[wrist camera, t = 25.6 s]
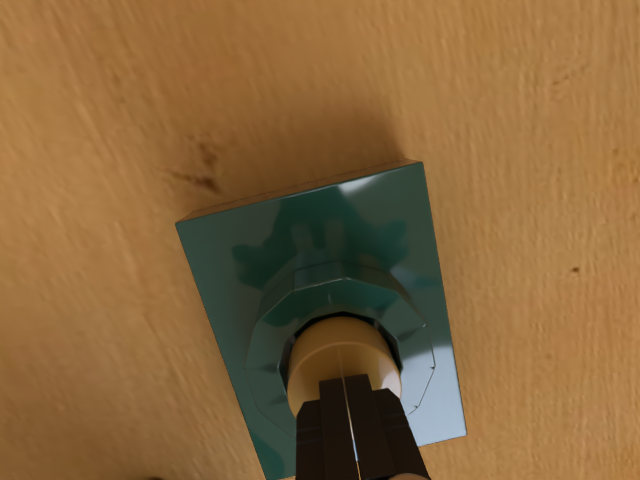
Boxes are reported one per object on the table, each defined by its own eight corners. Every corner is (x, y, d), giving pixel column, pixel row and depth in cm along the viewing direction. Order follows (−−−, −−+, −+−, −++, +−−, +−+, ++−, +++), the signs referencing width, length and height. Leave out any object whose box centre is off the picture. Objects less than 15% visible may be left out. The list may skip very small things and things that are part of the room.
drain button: (277, 329, 13) (273, 358, 11) (379, 304, 13) (391, 329, 11) (302, 414, 14) (303, 452, 12) (398, 391, 14) (411, 427, 12)
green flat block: (191, 211, 15) (153, 236, 11) (406, 157, 15) (442, 164, 11) (270, 443, 18) (262, 524, 15) (448, 401, 18) (488, 472, 14)
